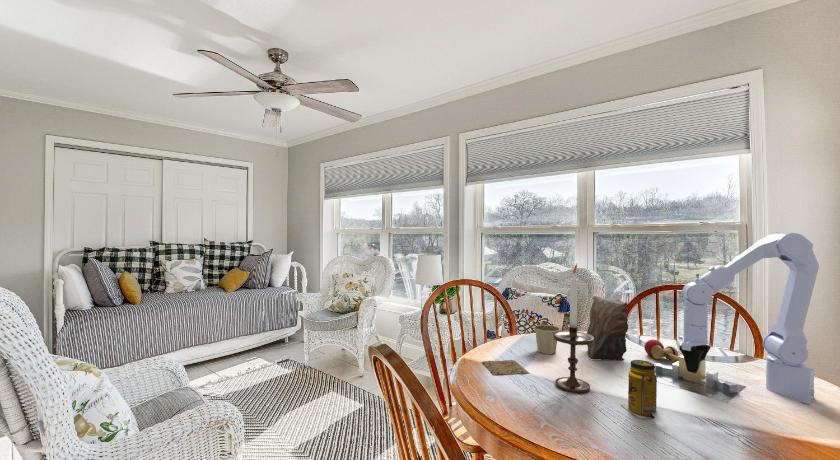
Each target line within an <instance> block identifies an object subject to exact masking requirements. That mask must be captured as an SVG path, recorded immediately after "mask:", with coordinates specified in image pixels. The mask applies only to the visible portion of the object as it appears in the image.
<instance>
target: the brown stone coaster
mask: <svg viewBox="0 0 840 460" xmlns="http://www.w3.org/2000/svg"><path fill="white" fill-rule="evenodd" d="M481 364H482V365H483V366H484V367H485V368H486V369H487V371H488V372H489V373H490V374H491V375H492V376H510V375H511V376H512V375H515V376H516V375H530V372H529V371H528V370H527V369H525V368H524V367H523V366H522V365H521V364H519V363H518V362H517V361H516V360H514V359H507V360H486V361H481Z"/></svg>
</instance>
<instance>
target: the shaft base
mask: <svg viewBox="0 0 840 460" xmlns="http://www.w3.org/2000/svg"><path fill="white" fill-rule="evenodd" d="M654 366H655V375H656V377H657V383H661V384H664V385H667V386H670V387H673V388H676V389H680V390H683V391H687V392H690V393H695V394H698V395H700V396H704V397H708V398H710V399H714V400H718V401H720V402H723V403H729V402H730V401H731V400H733V398H735V397H736V396H737V395H738V394H739V393H741V392H742V391H743V390H744V389H745V388H746V387H747V386H745V385H741V384H739V383H735V382H732V381H727V380H723V379H720V378H719V371H718V370H714V369H710V370H709V371H707V372H705V379H704V380H702V381H698V380H694V379H690V378H686V377H682V376H679V361H677V362H674V363H672V364H671V366H669V365H666V364H663V363H657V362H656V363H654Z"/></svg>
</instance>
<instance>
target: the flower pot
mask: <svg viewBox="0 0 840 460" xmlns="http://www.w3.org/2000/svg"><path fill="white" fill-rule="evenodd" d="M532 327H533V329H534V334H535V340H536V347H537V352H538V353H542V354H544V353H545V355H553V354H555V353H556V351H557V345H558V341H556V340H555V339H553V333H554V332H556V331H562V329H561V328H560V327H558V326H555V325H550V324H537V325H533V326H532Z"/></svg>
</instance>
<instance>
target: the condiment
mask: <svg viewBox="0 0 840 460" xmlns="http://www.w3.org/2000/svg"><path fill="white" fill-rule="evenodd" d="M629 369H630V370H629V371H628V384H627V385H628V388H627V390H628V391H627V394H628V396H627V397H628V398H627V399H628V401H627V402H628V403H627V404H621V407H623V408H624V409H625V410H627V411H628V412H629V413H631V414H632V415H634V416H635V417H636V418H638V419H646V420H648V419H656V417H655V416H654V414H655V413H656V412H657V397H658V396H657V391H658V390H657V387H658V385H657V384H658V382H657V377H656V375H655V363H653V362H650V361H648V360H643V359H633V360H631V361H630V368H629Z"/></svg>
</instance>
